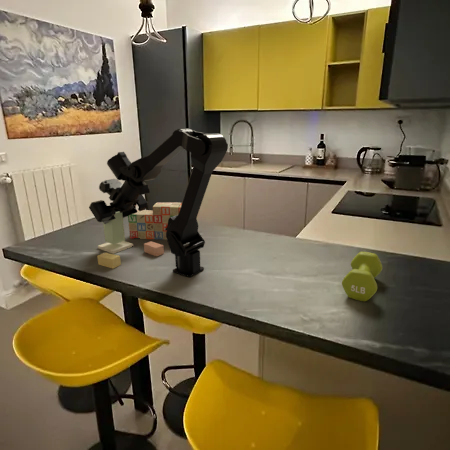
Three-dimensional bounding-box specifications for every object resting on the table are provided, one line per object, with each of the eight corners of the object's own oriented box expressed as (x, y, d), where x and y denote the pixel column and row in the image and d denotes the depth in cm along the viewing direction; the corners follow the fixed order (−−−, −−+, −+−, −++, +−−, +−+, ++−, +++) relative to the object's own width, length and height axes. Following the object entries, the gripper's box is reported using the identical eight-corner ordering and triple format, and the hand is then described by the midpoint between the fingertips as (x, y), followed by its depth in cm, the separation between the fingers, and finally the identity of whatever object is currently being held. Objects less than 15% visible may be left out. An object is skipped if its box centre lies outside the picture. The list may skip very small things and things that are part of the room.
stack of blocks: (129, 239, 121) (126, 205, 117) (135, 233, 127) (132, 201, 123) (188, 240, 119) (187, 206, 116) (191, 234, 125) (190, 202, 122)
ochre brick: (120, 265, 99) (120, 255, 98) (113, 269, 97) (112, 259, 96) (106, 261, 102) (105, 252, 101) (98, 265, 100) (97, 255, 99)
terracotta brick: (163, 254, 108) (163, 245, 107) (156, 257, 105) (155, 248, 104) (151, 249, 111) (151, 241, 110) (144, 252, 109) (143, 243, 108)
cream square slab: (133, 247, 114) (132, 243, 113) (113, 255, 108) (112, 250, 107) (118, 243, 118) (117, 239, 118) (98, 249, 112) (97, 245, 112)
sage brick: (125, 240, 112) (122, 211, 109) (113, 244, 109) (110, 214, 106) (116, 237, 115) (113, 209, 112) (105, 241, 111) (101, 212, 108)
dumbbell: (350, 272, 95) (353, 248, 93) (381, 278, 91) (385, 253, 89) (338, 297, 81) (341, 270, 79) (374, 306, 77) (378, 278, 75)
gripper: (139, 167, 110) (120, 196, 119) (88, 175, 95) (71, 207, 105) (157, 194, 108) (137, 221, 117) (109, 206, 93) (90, 236, 103)
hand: (110, 221), depth 111 cm, fingers open, 5 cm apart
